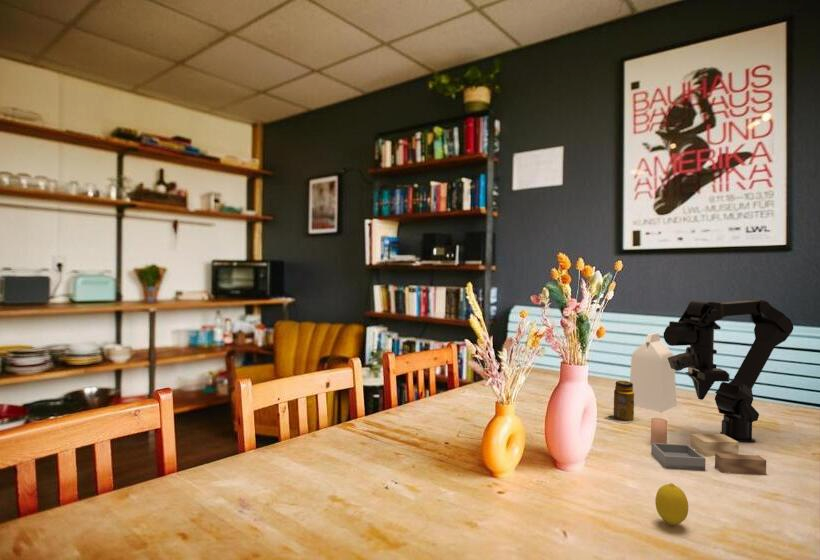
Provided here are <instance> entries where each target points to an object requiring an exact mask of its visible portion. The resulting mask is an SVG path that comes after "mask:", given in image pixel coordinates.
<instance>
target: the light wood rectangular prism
mask: <svg viewBox="0 0 820 560" xmlns="http://www.w3.org/2000/svg"><path fill="white" fill-rule="evenodd" d="M739 442H740V441H736V440H734V439H732V438H730V437H728V436H726V435H724V434H720V433H690V446H691V447H692V448H693V449H695V450H696V451H698V453H699V454H700V453H701V455H702V456H703V457H715V453H720V454H739V448H740V447H739Z"/></svg>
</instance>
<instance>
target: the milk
mask: <svg viewBox="0 0 820 560" xmlns="http://www.w3.org/2000/svg"><path fill="white" fill-rule="evenodd" d="M671 356H674V353H673V352H672V350H670V348H668V346H666V345H665V344H664V343H663V342H662V341H661V338H660V333H658V332H654V333H649V334H647V337H646V341H645V342H643V343H641V344H640V345H639V347H638V348H636V349H635V350H634V351H633V352H632V354H631V359H630V360H631V361H630V375H629V376H630V377H629V382H631V383H633V392H634V407H637V408H641V409H646V410H649V409H650V411H654V412H659V413H663V412H666V411H668V410H670V409H673V408H676V407H677V390H676V389H677V388H676V371H675V370H674V369H671V367H670V364H669V361H668V357H671Z"/></svg>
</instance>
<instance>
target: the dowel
mask: <svg viewBox="0 0 820 560" xmlns="http://www.w3.org/2000/svg"><path fill="white" fill-rule="evenodd" d="M651 443H663V444H668V420H667V419H664V418H661V417H652V418H650V444H651Z"/></svg>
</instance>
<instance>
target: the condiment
mask: <svg viewBox="0 0 820 560" xmlns="http://www.w3.org/2000/svg"><path fill="white" fill-rule="evenodd" d="M614 385H615V386H614V391H613V415H607V416H603V417H604V418H605V419H608V420H611V421H613V422H616V423H620V424H623V425H624V424H628V423H631V422H636V421H639V420H640V419H639V418H636V417H635V406H634V392H633V383H631V382H630V381H627V380H617V381H616V382H615V384H614Z"/></svg>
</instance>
